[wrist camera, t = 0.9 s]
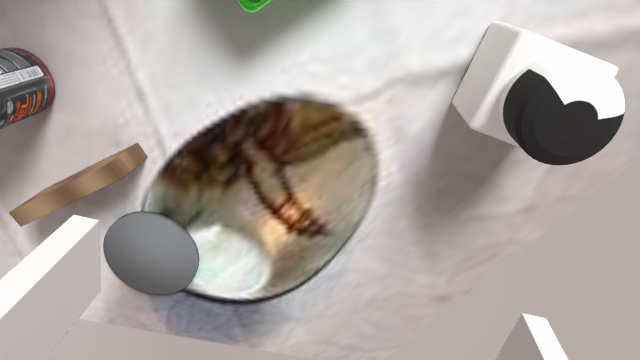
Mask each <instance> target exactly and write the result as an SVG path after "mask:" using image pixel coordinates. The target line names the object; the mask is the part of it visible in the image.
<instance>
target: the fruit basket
mask: <svg viewBox="0 0 640 360" xmlns="http://www.w3.org/2000/svg"><path fill="white" fill-rule="evenodd" d="M236 1H237V2H238V3H239V5H240V6H241V7H242V9H243V10H245V11H246V12H249V13H254V12H258V11H259V10H261V9H262V8H263V7H265V6H266V5H267V4H269V3H270V2H271V1H273V0H236Z"/></svg>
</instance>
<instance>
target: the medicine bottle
mask: <svg viewBox="0 0 640 360" xmlns="http://www.w3.org/2000/svg"><path fill="white" fill-rule="evenodd" d="M617 72H618V68H617V67H616V66H615V65H612V64H610V63H607V62H605V61H602V60H600V59H597V58H595V57H592V56H590V55H587V54H585V53H582V52H580V51H577V50H575V49H572V48H570V47H567V46H565V45H562V44H560V43H557V42H555V41H552V40H550V39H547V38H545V37H542V36H540V35H537V34H535V33H532V32H530V31H527V30H525V29H521V28H518V27H515V26H512V25H509V24H506V23H502V22H499V21H493V22H492V23H491V24H490V26H489V28H488V30H487V32H486V34H485V36H484V38H483V40H482V42H481V44H480V46H479V48H478V50H477V52H476V54H475V56H474V58H473V60H472V62H471V64H470V66H469V68H468V70H467V72H466V74H465V76H464V78H463V80H462V82H461V84H460V86H459V88H458V90H457V92H456V94H455V96H454V98H453V100H452V103H453V105H454V106H455V108H456V109H457V110H458V112H459V113H460V115H461V116H462V117H463V119H464V120H465V121H466V123H467V124H468V126H469V127H470V128H471V129H473V130H475V131H478V132H481V133H483V134H486V135H489V136H491V137H494V138H497V139H499V140H502V141H505V142H507V143H510V144H512V145H515V146H518V147H520V148H522V149H523V150H524V151H525V152H526V153H527V154H528V155H529V156H531V157H532V158H533V159H535V160H537V161H539V162H542V163H545V164H550V165H568V164H573V163H577V162H580V161H583V160H585V159H587V158H589V157H591V156H593V155H595V154H596V153H598V152H599V151H600V150H602V149H603V148H604V147H605V146H606V145H607V144H608V143H609V142H610V141H611V140H612V139H613V137H614V136H615V134H616V133H617V131H618V129H619V127H620V125H621V123H622V120H623V116H624V111H625V100H624V95H623V92H622V89H621V87H620V85H619V84H618V83H617V81H616V80H615V79H614V77H615V76H616V74H617Z"/></svg>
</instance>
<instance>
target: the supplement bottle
mask: <svg viewBox="0 0 640 360" xmlns="http://www.w3.org/2000/svg"><path fill="white" fill-rule="evenodd" d="M53 96H54V81H53V79H52V76H51V74H50V72H49V70H48V69H47V67H46V66H45V65H44V63H43V62H42V61H41V60H40V59H39V58H37V57H36V56H34V55H33V54H32V53H30V52H28V51H25V50H23V49H19V48H4V49H0V129H1V128H3V127H5V126H8V125H10V124H12V123H15V122H17V121H20V120H22V119H25V118H27V117H29V116H32V115H35V114H37V113H39V112H40V111H42V110H44V109H45V108H47V107H48V106H49V105H50V104H51V102H52V99H53Z"/></svg>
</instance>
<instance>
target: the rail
mask: <svg viewBox="0 0 640 360" xmlns="http://www.w3.org/2000/svg"><path fill="white" fill-rule="evenodd" d="M146 158H147V156H146V154H145V153H144V151H143V150H142V148H141V147H140V145H139V144H138V143H136V144H134V145H132V146H130V147H128V148H126V149H124V150H122V151H120V152H118V153H116V154H114V155H112V156H110V157H108V158H106V159H104V160H102V161H100V162H98V163H96V164H94V165H92V166H90V167H88V168H86V169H84V170H82V171H80V172H78V173H76V174H74V175H72V176H70V177H68V178H66V179H64V180H62V181H60V182H58V183H56V184H54V185H52V186H50V187H48V188H46V189H44V190H43V191H41V192H40V193H38V194H37V195H35V196H34V197H32V198H31V199H29V200H28V201H26V202H25V203H23V204H22V205H20V206H19V207H17V208H16V209H14V210H13V211H11V212H10V215H11V216H12V217H13V218H14V219H15V220H16V222H17V223H18V224H19V225H20V226H23V225H26V224H28V223H30V222H32V221H34V220H36V219H38V218H40V217H42V216H44V215H47V214H49V213H51V212H53V211H55V210H57V209H59V208H61V207H63V206H65V205H68V204H70V203H72V202H74V201H76V200H78V199H80V198H82V197H84V196H86V195H89V194H91V193H93V192H95V191H97V190H99V189H101V188H103V187H105V186H107V185H110V184H112V183H114V182H116V181H118V180H120V179H122V178H123V177H124V176H125V175H127V174H128V173H129V172H130V171H131V170H133V169H134V168H135V167H136V166H137V165H139V164H140V163H141V162H142V161H143V160H144V159H146Z"/></svg>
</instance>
